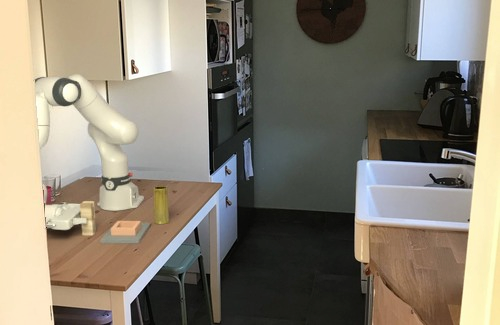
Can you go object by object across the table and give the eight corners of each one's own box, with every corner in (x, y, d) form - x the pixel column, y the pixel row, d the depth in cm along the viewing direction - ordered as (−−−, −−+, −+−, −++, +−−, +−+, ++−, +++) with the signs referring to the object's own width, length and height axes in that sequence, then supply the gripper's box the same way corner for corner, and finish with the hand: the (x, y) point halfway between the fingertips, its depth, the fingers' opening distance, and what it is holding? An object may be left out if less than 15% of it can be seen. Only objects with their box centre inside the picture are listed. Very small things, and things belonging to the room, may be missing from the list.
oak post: (86, 231, 213) (83, 201, 210) (96, 231, 213) (94, 201, 210) (82, 235, 209) (80, 204, 206) (92, 235, 209) (90, 204, 206)
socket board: (115, 224, 220) (115, 216, 219) (150, 225, 219) (150, 216, 219) (100, 243, 201) (99, 233, 200) (138, 243, 200) (138, 234, 199)
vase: (169, 219, 227) (168, 185, 223) (169, 223, 221) (168, 189, 217) (154, 220, 226) (152, 185, 222) (154, 224, 220) (152, 189, 216)
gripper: (42, 217, 199) (80, 217, 198) (63, 200, 219) (98, 201, 218) (43, 234, 201) (81, 234, 200) (64, 216, 220) (99, 216, 220)
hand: (90, 216), depth 209 cm, fingers open, 6 cm apart
